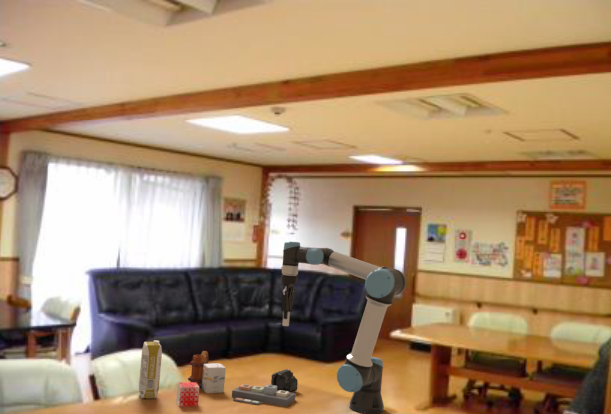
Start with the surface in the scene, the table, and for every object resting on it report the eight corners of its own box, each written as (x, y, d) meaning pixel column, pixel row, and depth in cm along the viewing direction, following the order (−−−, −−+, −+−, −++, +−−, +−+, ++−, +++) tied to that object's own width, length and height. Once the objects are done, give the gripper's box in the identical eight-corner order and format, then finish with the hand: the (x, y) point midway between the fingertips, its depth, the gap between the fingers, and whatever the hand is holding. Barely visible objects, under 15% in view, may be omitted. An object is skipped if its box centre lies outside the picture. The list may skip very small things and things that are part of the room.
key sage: (264, 395, 274) (264, 387, 275) (260, 397, 270) (260, 389, 270) (254, 393, 276) (255, 385, 276) (250, 396, 271) (251, 387, 272)
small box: (176, 401, 258) (177, 382, 259) (194, 400, 261) (196, 382, 261) (179, 406, 251) (180, 387, 251) (197, 406, 254) (199, 387, 254)
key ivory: (288, 399, 271) (289, 391, 271) (285, 402, 266) (286, 393, 266) (279, 398, 272) (279, 389, 272) (275, 400, 268) (276, 392, 268)
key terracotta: (251, 393, 276) (252, 385, 276) (247, 395, 272) (248, 387, 272) (242, 391, 278) (243, 383, 278) (238, 394, 273) (239, 385, 273)
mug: (201, 389, 280) (204, 356, 280) (185, 386, 281) (187, 354, 282) (212, 382, 294) (215, 351, 294) (196, 379, 296) (199, 349, 296)
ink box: (201, 388, 281) (203, 363, 281) (218, 387, 284) (220, 362, 285) (206, 393, 273) (208, 367, 274) (224, 392, 277) (226, 367, 277)
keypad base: (295, 400, 274) (295, 393, 274) (286, 406, 262) (286, 399, 262) (242, 391, 282) (242, 384, 282) (231, 397, 270) (232, 390, 270)
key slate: (276, 393, 273) (277, 385, 273) (273, 396, 268) (273, 387, 268) (267, 392, 274) (267, 383, 274) (263, 394, 270) (264, 386, 270)
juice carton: (158, 399, 259) (163, 342, 260) (139, 399, 256) (144, 342, 257) (155, 393, 268) (160, 338, 269) (137, 393, 265) (142, 338, 266)
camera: (266, 390, 287) (268, 369, 288) (274, 385, 297) (276, 365, 297) (292, 394, 283) (294, 373, 283) (300, 390, 292) (301, 369, 292)
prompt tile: (261, 403, 264) (261, 401, 264) (258, 405, 261) (258, 403, 261) (236, 399, 268) (236, 397, 268) (233, 400, 265) (233, 398, 265)
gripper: (286, 273, 288) (282, 323, 287) (277, 274, 275) (273, 326, 274) (301, 274, 285) (297, 324, 284) (292, 276, 273) (288, 328, 272)
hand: (285, 325), depth 279 cm, fingers closed
